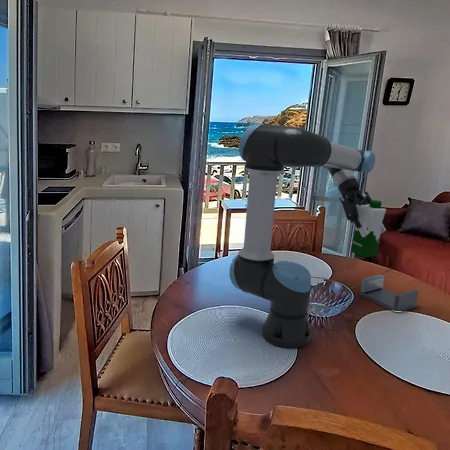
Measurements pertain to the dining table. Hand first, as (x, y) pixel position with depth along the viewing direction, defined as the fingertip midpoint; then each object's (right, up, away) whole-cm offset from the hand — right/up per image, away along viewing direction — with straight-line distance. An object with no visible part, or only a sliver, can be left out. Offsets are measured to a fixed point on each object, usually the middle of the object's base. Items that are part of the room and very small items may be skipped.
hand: (374, 233), depth 159 cm
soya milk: (-2, -8, +5) cm, 10 cm away
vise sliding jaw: (+4, -22, +14) cm, 27 cm away
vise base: (+8, -26, +9) cm, 29 cm away
